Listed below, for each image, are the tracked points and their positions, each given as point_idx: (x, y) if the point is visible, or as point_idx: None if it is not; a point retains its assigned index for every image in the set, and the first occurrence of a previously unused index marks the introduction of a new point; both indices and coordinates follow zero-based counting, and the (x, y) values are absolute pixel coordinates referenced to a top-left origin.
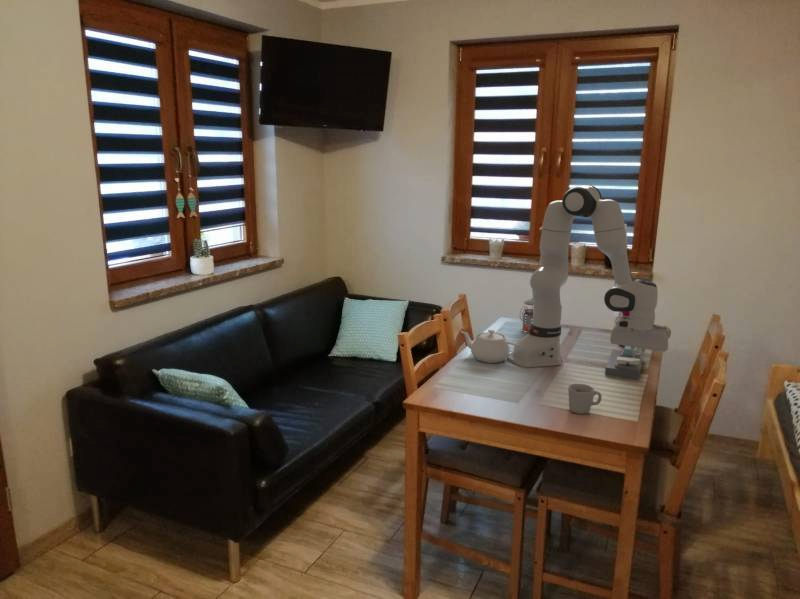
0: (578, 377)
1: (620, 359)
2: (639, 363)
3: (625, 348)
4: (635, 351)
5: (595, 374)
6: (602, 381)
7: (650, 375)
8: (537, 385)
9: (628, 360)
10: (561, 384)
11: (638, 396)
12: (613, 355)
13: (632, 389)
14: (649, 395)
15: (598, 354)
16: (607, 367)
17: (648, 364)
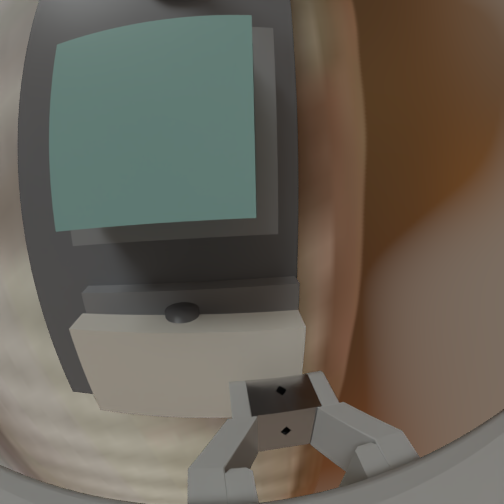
0: (36, 418)
1: (124, 400)
2: (280, 171)
3: (66, 199)
4: (240, 214)
5: (55, 370)
6: (121, 434)
7: (349, 233)
8: (23, 474)
9: (197, 411)
10: (48, 469)
11: (283, 482)
12: (40, 73)
13: (258, 456)
14: (321, 463)
15: (8, 12)
16: (81, 391)
17: (317, 4)
